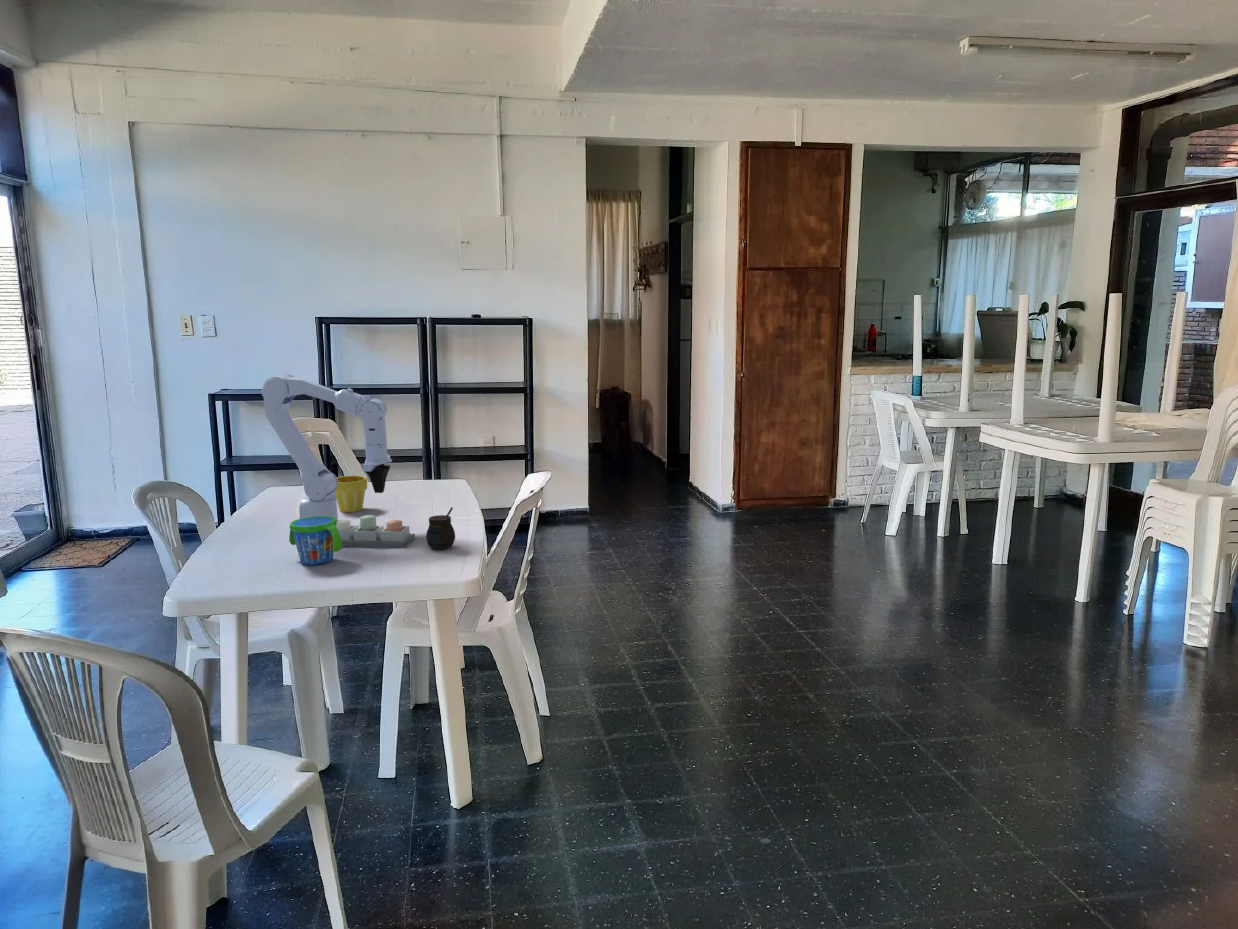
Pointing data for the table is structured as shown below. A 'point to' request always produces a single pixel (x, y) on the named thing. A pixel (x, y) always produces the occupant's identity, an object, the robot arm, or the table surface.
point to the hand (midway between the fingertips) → (379, 492)
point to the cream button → (343, 525)
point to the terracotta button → (394, 525)
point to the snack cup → (315, 539)
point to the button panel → (376, 537)
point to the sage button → (368, 523)
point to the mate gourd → (440, 532)
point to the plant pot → (351, 493)
